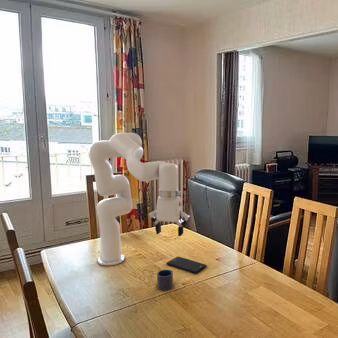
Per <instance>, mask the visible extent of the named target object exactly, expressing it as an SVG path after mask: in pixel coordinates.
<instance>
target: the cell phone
mask: <svg viewBox="0 0 338 338" xmlns="http://www.w3.org/2000/svg"><path fill="white" fill-rule="evenodd" d="M166 265H169V266H171V267H175V268H177V269H180V270H184V271H187V272H190V273H193V274H197V273H199V272H200V271H202V270H204V269H205V268H206V267H207V264H205V263H202V262H198V261H195V260H191V259H188V258H184V257H182V256H175V257H174V258H172V259H170V260H168V261H167V262H166Z"/></svg>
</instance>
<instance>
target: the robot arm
mask: <svg viewBox="0 0 338 338" xmlns="http://www.w3.org/2000/svg"><path fill="white" fill-rule="evenodd" d="M142 145H143V141H142V138H141V136H140V135H139V134H138V133H136V132H118V133H115V134H113V135H112V136H111V137H110V138H109V140H108V139H107V140H104V139H103V140H98V141H95V142H93V143H91V144H90V146H89V148H88V157H89V161H90V164H91V166H92V168H93V174H94V180H95V186H96V187H95V188H96V192H97V193H98V195H99V196H101V197H109V196H114V195H117V196H114V197H110V198H104V199H102V200H100V201H99V202H98V203H97V204H96V214H97V218H98V224H99V225H98V226H99V242H100V243H99V244H100V250H98V251H97V252H98V254H99V255H100V256H99V257H98V259H97V263H98V264H99V265H100V266H115V265H119V264H121V263H123V262H124V261H125V258H126V257H125V255H124V254H122V241H121V240H122V239H121V238H122V237H121V236H122V235H121V225H120V222H119V221H118V220H117V217H120V216H123V215H128V214H130V213H131V212H132V211H133V198H132V192H131V185H130V182H129V179H128V178H127V176H126V175H124V174H115V175H114V171H113V166H112V165H111V163H110V161H108V160H107V159H113V158H123V159H124V160H125V161H126V162H125V163H126V168H127V170H128V173H129V174H130V175H131V176H133V177H134V178H136V180H138V181H140V182H150V181H155V180H158V196H157V199H156V200H157V201H156V208H155V210H153V211H151V212H149V213H148V216H149V217H150V220H151V221H152V222H153V224H154V227H155V234H156V235H159V234H161V232H162V223H161V222H167V223H176V224H177V226H178V227H177V237H181V236H182V235H183V234H184V226H185V225H186V223H188V221H189V220H190V215H189V214H187V213H186V212H184V211H183V204H182V199H181V196H182V191H180V190H179V178H178V177H179V168H178V165H177V164H176V163H173V162H166V161H163V160H155V161H147V162H142V161H141V159H142V158H143V156H144V149H143V147H142ZM183 218H184V219H183ZM182 219H183V220H182Z"/></svg>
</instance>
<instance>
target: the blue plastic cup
mask: <svg viewBox="0 0 338 338" xmlns="http://www.w3.org/2000/svg"><path fill="white" fill-rule="evenodd" d="M173 287H174V272H173V271H172V270H170V269H161V270H159V271H157V273H156V288H157V289H158V290H159V291H168V290H171V289H172V288H173Z"/></svg>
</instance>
